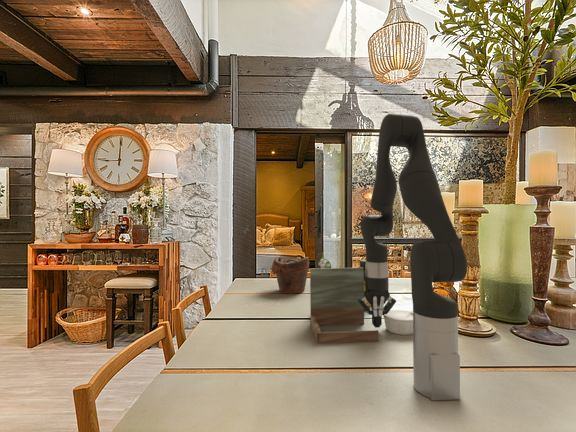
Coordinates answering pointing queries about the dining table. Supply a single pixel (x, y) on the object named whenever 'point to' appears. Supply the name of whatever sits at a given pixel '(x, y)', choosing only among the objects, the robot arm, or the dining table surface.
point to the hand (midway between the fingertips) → (376, 326)
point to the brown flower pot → (291, 274)
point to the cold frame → (338, 304)
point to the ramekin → (399, 322)
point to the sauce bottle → (362, 265)
